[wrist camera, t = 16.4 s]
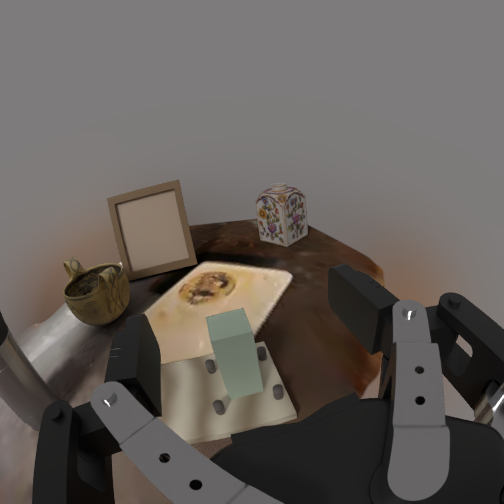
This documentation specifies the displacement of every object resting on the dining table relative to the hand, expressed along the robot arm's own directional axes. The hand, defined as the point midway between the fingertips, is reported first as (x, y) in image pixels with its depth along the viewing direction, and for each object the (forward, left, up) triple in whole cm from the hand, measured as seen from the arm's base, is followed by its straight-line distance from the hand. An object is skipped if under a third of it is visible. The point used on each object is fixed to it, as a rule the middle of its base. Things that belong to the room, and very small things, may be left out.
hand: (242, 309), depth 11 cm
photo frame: (-15, +71, -28) cm, 77 cm away
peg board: (-7, +18, -28) cm, 34 cm away
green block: (0, +18, -26) cm, 32 cm away
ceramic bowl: (-29, +48, -28) cm, 62 cm away
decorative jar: (+25, +71, -28) cm, 80 cm away
